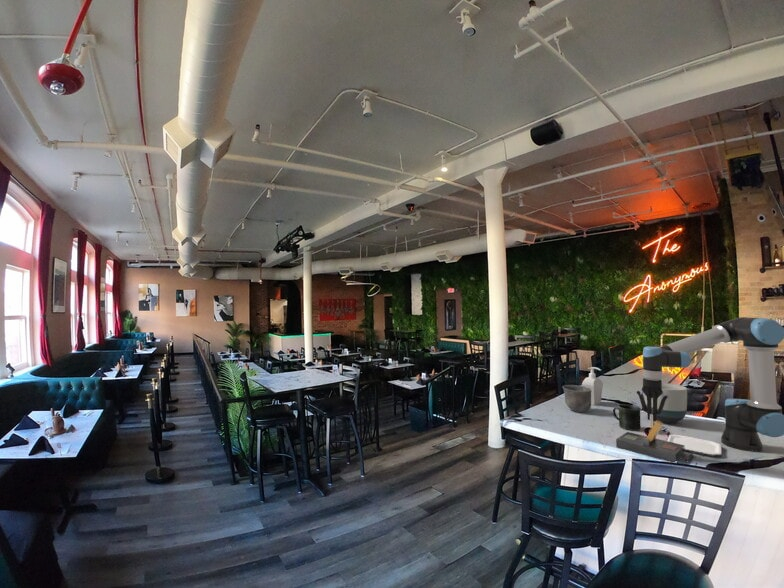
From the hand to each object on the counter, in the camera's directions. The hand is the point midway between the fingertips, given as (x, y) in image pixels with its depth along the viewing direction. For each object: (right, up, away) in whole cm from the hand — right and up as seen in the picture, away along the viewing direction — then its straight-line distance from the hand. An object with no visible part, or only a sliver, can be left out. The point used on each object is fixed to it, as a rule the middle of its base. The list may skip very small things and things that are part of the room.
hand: (652, 427), depth 179 cm
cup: (-3, -13, +67) cm, 68 cm away
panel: (-1, -12, +1) cm, 12 cm away
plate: (+24, -12, +4) cm, 27 cm away
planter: (+39, -13, +43) cm, 60 cm away
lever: (-1, -7, +1) cm, 7 cm away
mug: (+9, -13, +34) cm, 37 cm away
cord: (+10, -11, -10) cm, 18 cm away
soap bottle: (+17, -13, +82) cm, 85 cm away
